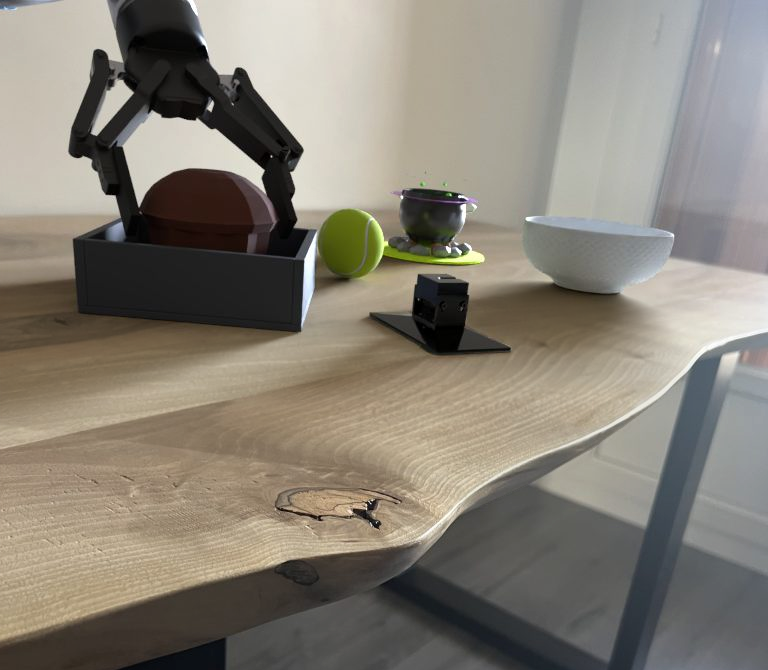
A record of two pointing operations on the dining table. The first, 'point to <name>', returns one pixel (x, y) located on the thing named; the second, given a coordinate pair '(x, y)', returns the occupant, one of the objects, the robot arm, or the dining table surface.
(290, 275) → the bin
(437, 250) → the toy cauldron
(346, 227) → the tennis ball
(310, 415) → the dining table surface
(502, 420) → the dining table surface
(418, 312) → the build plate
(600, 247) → the cereal bowl
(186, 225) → the muffin
